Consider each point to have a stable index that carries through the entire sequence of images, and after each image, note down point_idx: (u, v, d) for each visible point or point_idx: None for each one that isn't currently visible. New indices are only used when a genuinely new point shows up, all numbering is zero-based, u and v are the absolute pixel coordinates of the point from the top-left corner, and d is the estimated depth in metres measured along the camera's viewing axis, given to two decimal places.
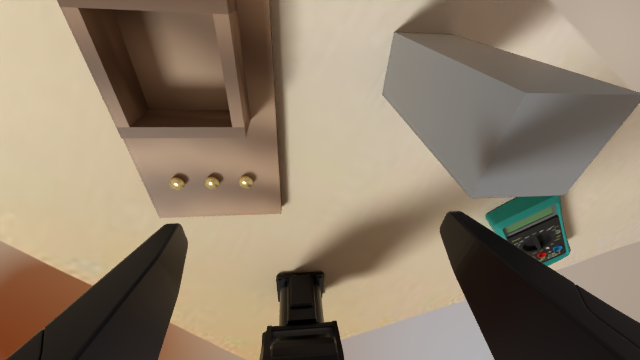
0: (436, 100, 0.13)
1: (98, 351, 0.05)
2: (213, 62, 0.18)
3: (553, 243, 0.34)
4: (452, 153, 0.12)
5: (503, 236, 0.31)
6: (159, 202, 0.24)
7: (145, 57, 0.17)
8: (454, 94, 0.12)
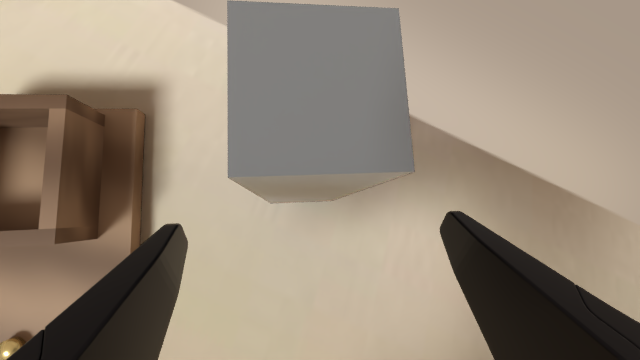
0: None
1: (98, 351, 0.05)
2: None
3: None
4: None
5: None
6: None
7: None
8: None
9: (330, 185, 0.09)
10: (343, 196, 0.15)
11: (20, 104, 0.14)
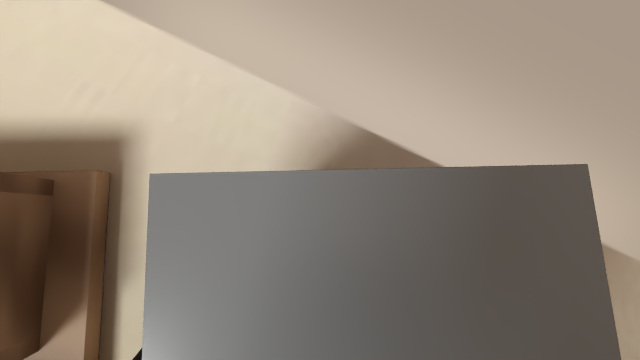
0: None
1: None
2: None
3: None
4: None
5: None
6: None
7: None
8: None
9: None
10: None
11: None
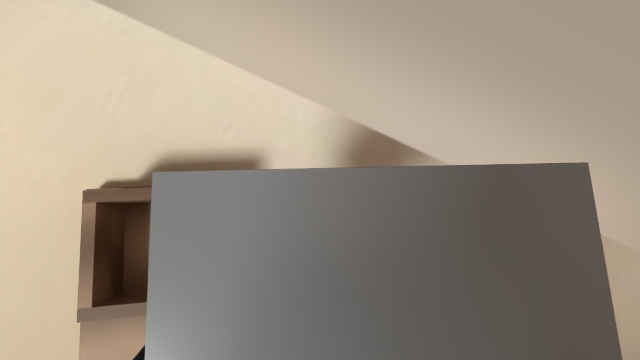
0: None
1: None
2: None
3: None
4: None
5: None
6: None
7: (138, 241, 0.19)
8: None
9: None
10: None
11: None
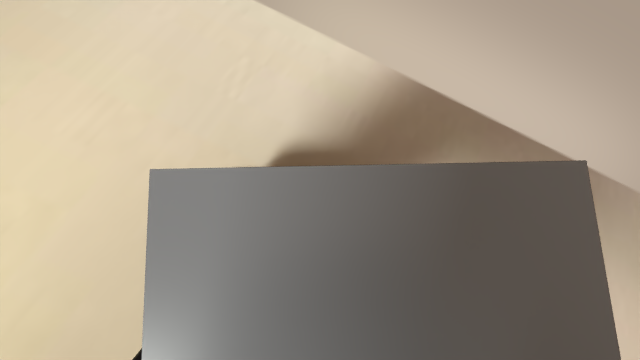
0: None
1: None
2: None
3: None
4: None
5: None
6: None
7: None
8: None
9: None
10: None
11: None
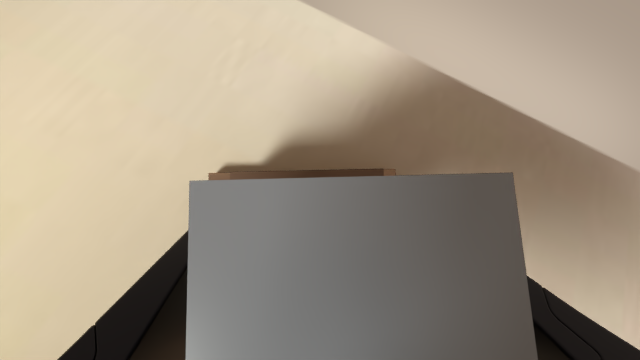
0: None
1: (147, 346, 0.05)
2: None
3: None
4: None
5: None
6: None
7: None
8: None
9: None
10: None
11: None
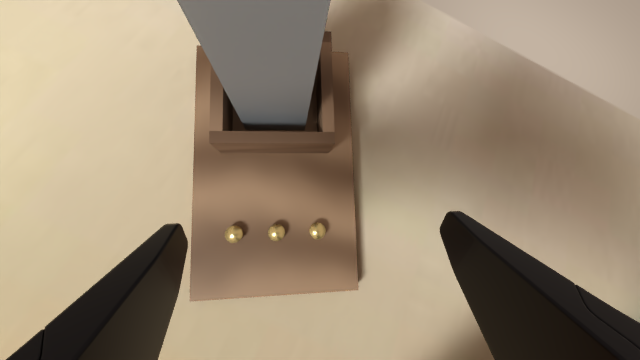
0: None
1: (98, 351, 0.05)
2: None
3: None
4: None
5: None
6: (199, 270, 0.18)
7: None
8: None
9: (275, 44, 0.10)
10: (308, 108, 0.16)
11: None
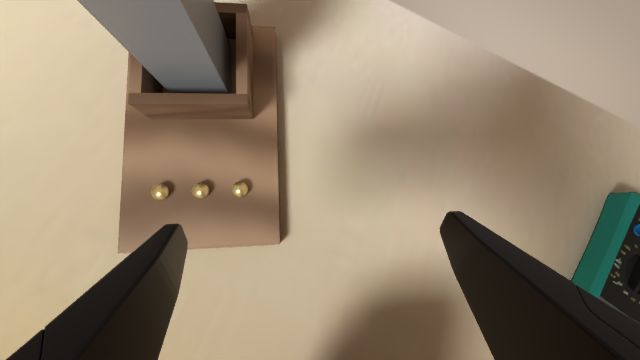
0: None
1: (98, 351, 0.05)
2: None
3: (634, 245, 0.23)
4: None
5: None
6: (128, 225, 0.20)
7: None
8: None
9: None
10: (215, 69, 0.17)
11: None
